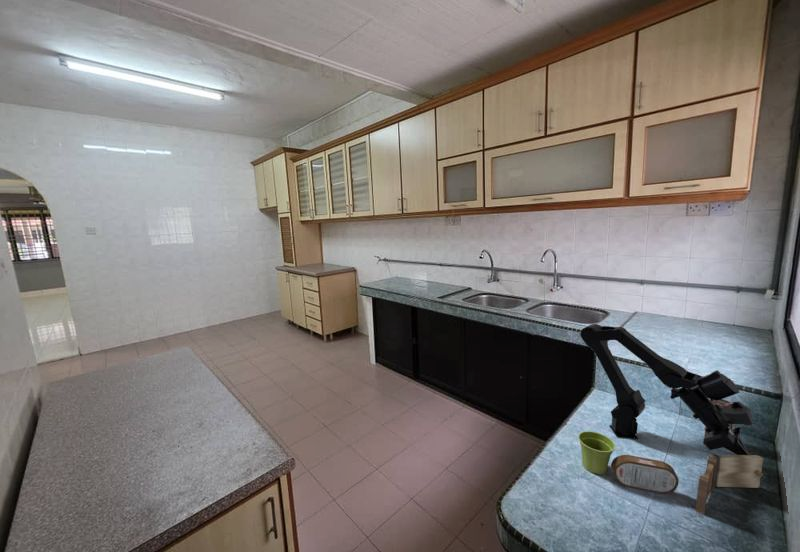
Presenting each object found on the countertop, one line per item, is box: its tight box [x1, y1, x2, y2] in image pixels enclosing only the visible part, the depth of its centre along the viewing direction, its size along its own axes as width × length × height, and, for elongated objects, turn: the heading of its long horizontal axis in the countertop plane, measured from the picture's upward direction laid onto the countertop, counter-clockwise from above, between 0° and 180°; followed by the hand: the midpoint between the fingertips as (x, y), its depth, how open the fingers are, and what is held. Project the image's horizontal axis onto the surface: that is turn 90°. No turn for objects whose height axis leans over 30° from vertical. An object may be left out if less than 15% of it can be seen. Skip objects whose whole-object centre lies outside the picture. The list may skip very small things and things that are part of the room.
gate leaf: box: [708, 452, 764, 489], centre depth 88 cm, size 13×3×9 cm, turn 87°
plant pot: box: [577, 430, 616, 475], centre depth 97 cm, size 9×9×9 cm
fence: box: [695, 456, 717, 515], centre depth 84 cm, size 12×2×9 cm, turn 129°
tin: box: [610, 454, 680, 494], centre depth 89 cm, size 15×3×8 cm, turn 71°
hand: (750, 460), depth 89 cm, fingers closed
